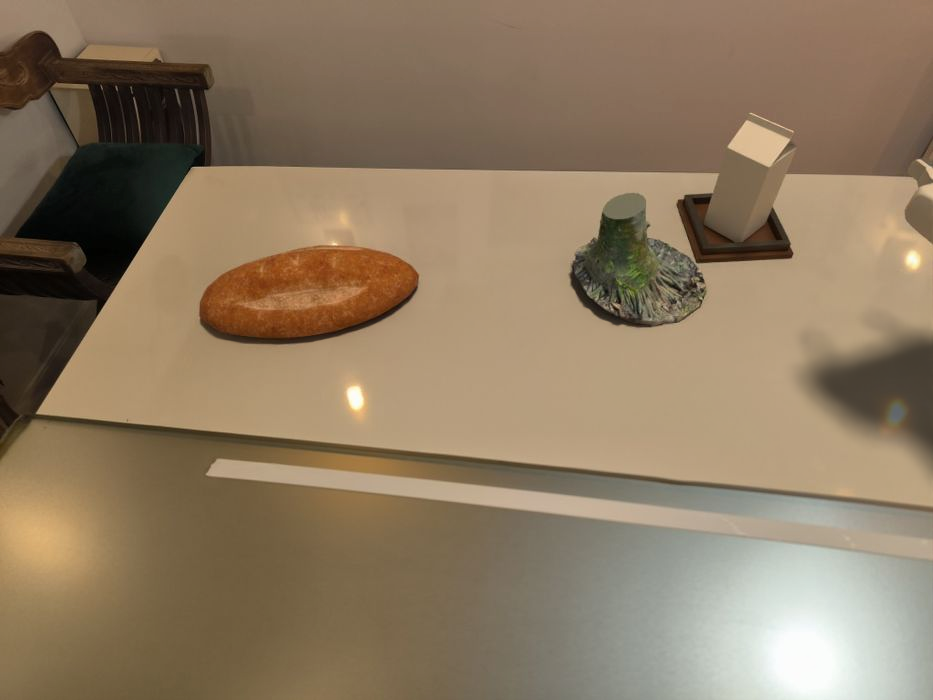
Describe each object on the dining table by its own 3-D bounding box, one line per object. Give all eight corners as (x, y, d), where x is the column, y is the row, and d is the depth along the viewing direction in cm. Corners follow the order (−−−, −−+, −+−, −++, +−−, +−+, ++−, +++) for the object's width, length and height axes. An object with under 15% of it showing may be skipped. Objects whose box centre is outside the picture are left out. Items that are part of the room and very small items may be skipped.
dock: (762, 198, 107) (767, 187, 105) (791, 258, 97) (797, 246, 96) (676, 203, 107) (679, 192, 105) (697, 263, 98) (700, 251, 96)
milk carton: (739, 245, 99) (779, 142, 84) (702, 225, 102) (734, 122, 87) (764, 225, 101) (808, 121, 86) (728, 206, 105) (763, 103, 90)
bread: (211, 276, 104) (189, 237, 97) (416, 249, 104) (409, 208, 97) (195, 357, 93) (169, 319, 86) (424, 326, 94) (417, 286, 87)
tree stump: (697, 345, 89) (692, 255, 76) (566, 333, 98) (542, 251, 85) (715, 256, 98) (714, 163, 85) (594, 253, 107) (576, 169, 94)
